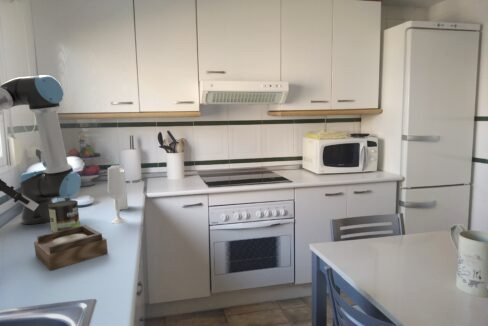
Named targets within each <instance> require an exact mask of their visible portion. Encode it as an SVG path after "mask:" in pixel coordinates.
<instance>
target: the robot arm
mask: <svg viewBox="0 0 488 326" xmlns="http://www.w3.org/2000/svg"><path fill="white" fill-rule="evenodd" d="M63 97H64V89H63V87H62V85H61V83H60V81H59V80H57V79H56V78H55V77H54V76H51V75H44V74H43V75H42V74H40V75H33V76H32V75H31V76H20V77H16V78H13V79H10V80H8V81H5V82H4V83H1V84H0V111H2V110H9V109H12V108H14V107H18V106H28V108H29V110H30V111H31V112H32V113H34V116H35V122H36V125H37V130H38V133H39V139H40V143H41V147H42V152H43V156H44V161H45V165H46V167H45V168H43V169H38V170H32V171H28V172H23V173H22V174H21V175H20V177H19V179H20V180H19V181H20V182H19V183H20V191H21V192H19V191H17V190H16V189H15V187H14V186H12V185H11V186H9V185H8V184H7V182H5V181H3V180H2V179H1V178H0V192H2V193H4V194H5V195H7V196H9V197H10V198H12V199H13V202H14V203H20V204H21V205H23V208H22V213H21V217H20V218H21V224H24V225H36V224H43V223H47V222H50V215H49V208H48V205H49V204H51V203H54V202H53V199H69V198H73V197H75V196H76V195H77V194H78V193H79V191H80V188H81V185H82V179H81V175H80V174H79V173H78V172H77V171H74V170H73V169H74V168H73V165H71V164H70V163H69V162H68V156H67V152H66V148H65V147H66V146H65V144H64V138H63V135H62V129H61V125H60V120H59V115H58V110H59V108H60V107H61V106H60V103H61V102H62V101H63Z"/></svg>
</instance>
